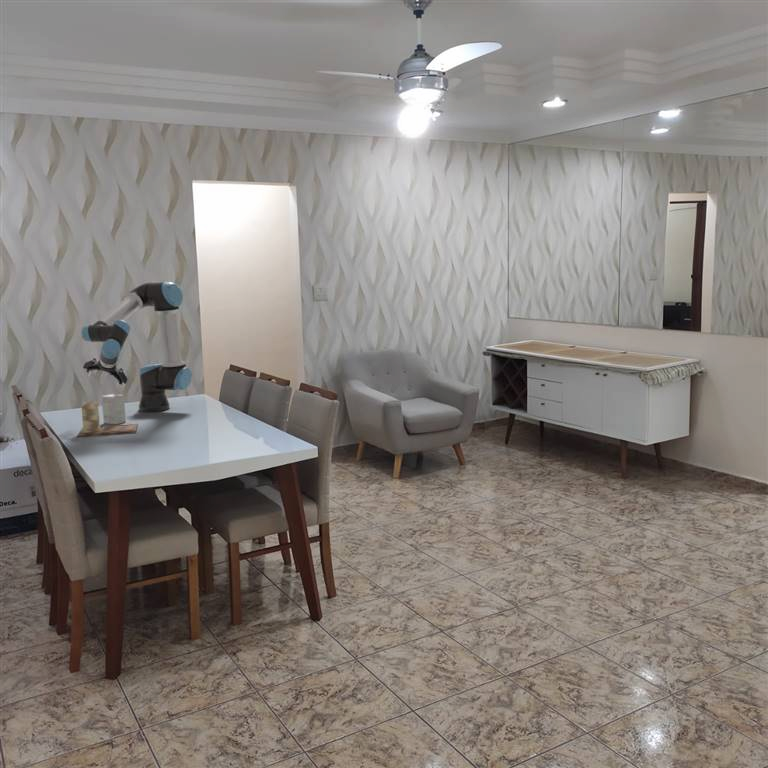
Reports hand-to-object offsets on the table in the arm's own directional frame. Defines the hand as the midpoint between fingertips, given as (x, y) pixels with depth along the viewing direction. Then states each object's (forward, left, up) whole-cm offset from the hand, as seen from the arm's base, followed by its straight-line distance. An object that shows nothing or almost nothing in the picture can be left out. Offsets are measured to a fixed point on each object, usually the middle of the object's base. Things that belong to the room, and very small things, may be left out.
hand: (104, 380), depth 357 cm
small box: (-4, +9, -19) cm, 22 cm away
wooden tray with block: (-3, +29, -19) cm, 35 cm away
